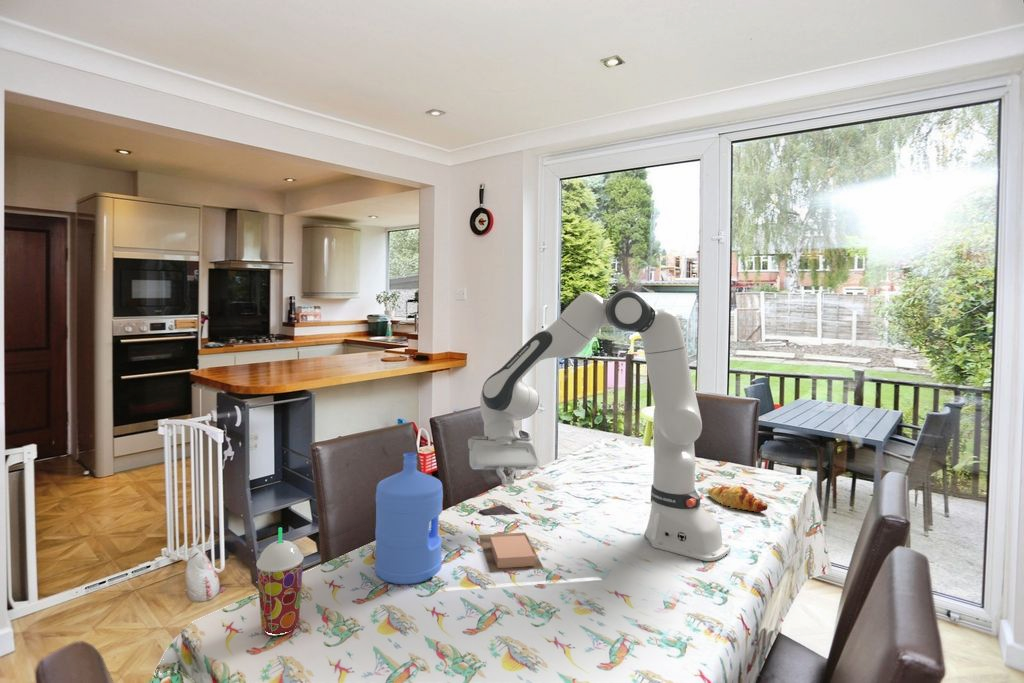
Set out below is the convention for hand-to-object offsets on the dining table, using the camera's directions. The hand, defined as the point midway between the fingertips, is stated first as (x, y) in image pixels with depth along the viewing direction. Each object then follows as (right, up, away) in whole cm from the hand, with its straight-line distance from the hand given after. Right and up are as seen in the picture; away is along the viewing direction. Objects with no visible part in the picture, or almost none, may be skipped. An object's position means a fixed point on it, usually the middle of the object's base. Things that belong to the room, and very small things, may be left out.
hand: (508, 483), depth 152 cm
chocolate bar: (0, -15, +14) cm, 20 cm away
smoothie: (-44, -17, -44) cm, 64 cm away
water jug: (-24, -16, -19) cm, 34 cm away
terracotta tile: (0, -13, -7) cm, 15 cm away
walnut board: (0, -16, -9) cm, 18 cm away
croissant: (+74, -15, +31) cm, 82 cm away
